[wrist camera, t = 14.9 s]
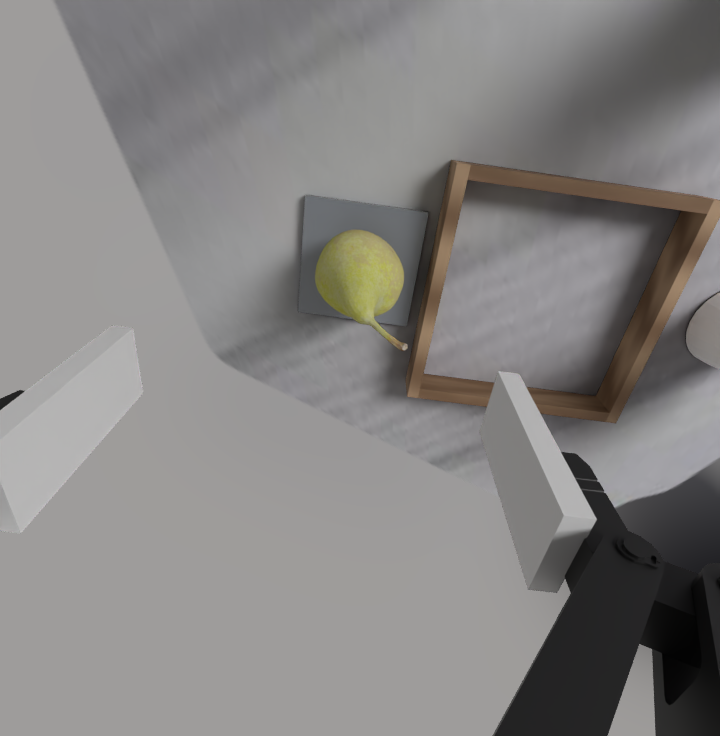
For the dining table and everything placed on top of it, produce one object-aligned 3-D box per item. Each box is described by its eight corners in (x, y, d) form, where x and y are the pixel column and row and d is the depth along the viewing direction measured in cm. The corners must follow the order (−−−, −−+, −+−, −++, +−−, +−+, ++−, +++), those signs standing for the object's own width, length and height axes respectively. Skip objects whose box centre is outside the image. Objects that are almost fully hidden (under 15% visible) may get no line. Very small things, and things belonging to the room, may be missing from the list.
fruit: (347, 206, 36) (334, 240, 25) (422, 256, 37) (440, 308, 27) (306, 274, 38) (280, 331, 28) (379, 318, 40) (379, 387, 30)
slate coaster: (306, 194, 36) (305, 195, 35) (427, 211, 36) (428, 213, 36) (298, 309, 41) (297, 311, 40) (406, 323, 41) (406, 326, 40)
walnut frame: (451, 160, 34) (457, 162, 32) (700, 196, 35) (727, 201, 32) (405, 380, 44) (407, 396, 41) (601, 405, 44) (615, 423, 42)
